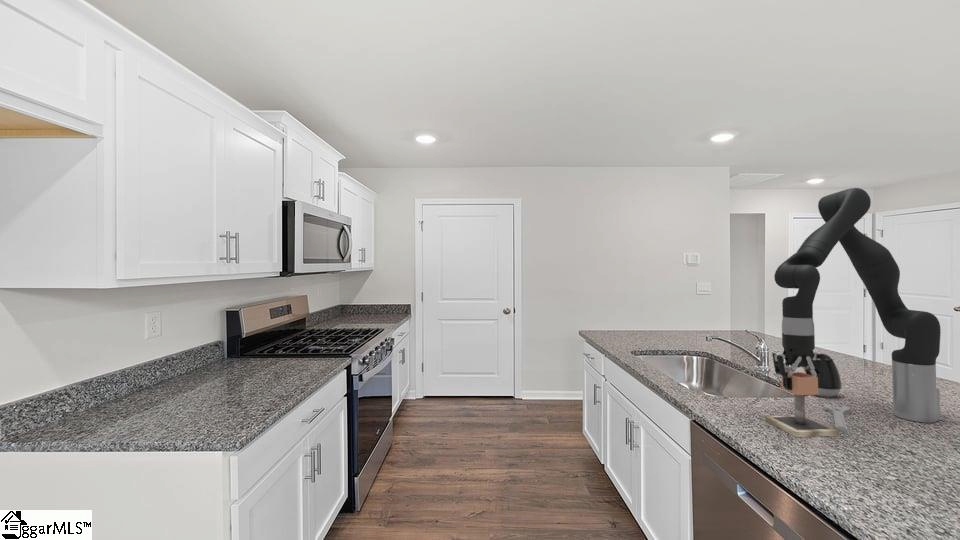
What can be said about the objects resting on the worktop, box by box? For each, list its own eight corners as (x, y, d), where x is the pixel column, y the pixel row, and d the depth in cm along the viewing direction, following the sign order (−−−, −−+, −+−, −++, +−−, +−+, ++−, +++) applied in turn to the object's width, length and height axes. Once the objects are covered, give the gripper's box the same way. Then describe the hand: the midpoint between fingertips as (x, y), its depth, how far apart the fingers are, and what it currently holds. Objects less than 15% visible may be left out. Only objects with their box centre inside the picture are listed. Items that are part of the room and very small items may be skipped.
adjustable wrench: (848, 436, 112) (848, 430, 112) (818, 430, 117) (818, 424, 117) (850, 411, 130) (850, 405, 130) (824, 406, 135) (824, 401, 135)
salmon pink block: (801, 388, 120) (800, 371, 120) (818, 394, 114) (817, 377, 114) (781, 388, 120) (781, 372, 120) (797, 395, 114) (797, 377, 114)
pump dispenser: (815, 398, 141) (814, 356, 141) (799, 390, 151) (798, 350, 151) (849, 400, 139) (848, 357, 139) (830, 391, 149) (829, 350, 149)
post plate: (803, 419, 123) (802, 387, 123) (838, 436, 111) (838, 400, 111) (765, 421, 123) (764, 388, 123) (796, 437, 111) (795, 401, 111)
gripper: (811, 329, 121) (812, 384, 121) (764, 331, 121) (765, 386, 121) (833, 333, 113) (834, 392, 113) (783, 335, 113) (785, 393, 113)
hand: (799, 388), depth 117 cm, fingers closed on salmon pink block, 6 cm apart
